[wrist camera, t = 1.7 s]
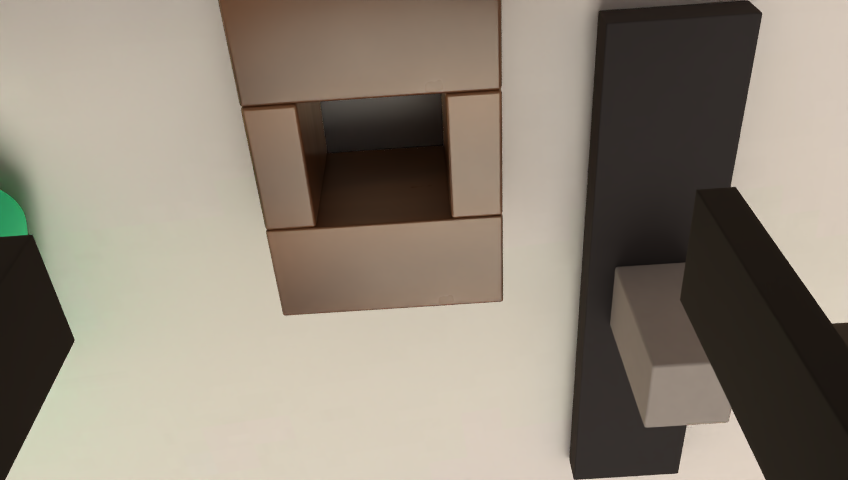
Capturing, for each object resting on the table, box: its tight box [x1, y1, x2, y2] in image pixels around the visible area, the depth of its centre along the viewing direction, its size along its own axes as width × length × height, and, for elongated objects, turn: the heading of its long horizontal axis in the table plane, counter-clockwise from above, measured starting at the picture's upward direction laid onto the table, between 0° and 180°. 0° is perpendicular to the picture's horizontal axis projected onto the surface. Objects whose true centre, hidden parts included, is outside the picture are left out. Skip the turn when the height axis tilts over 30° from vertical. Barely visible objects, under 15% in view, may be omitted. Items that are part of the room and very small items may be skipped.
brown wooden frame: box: [218, 0, 503, 315], centre depth 21 cm, size 9×6×4 cm, turn 3°
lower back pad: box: [570, 1, 762, 480], centre depth 24 cm, size 18×4×6 cm, turn 3°
